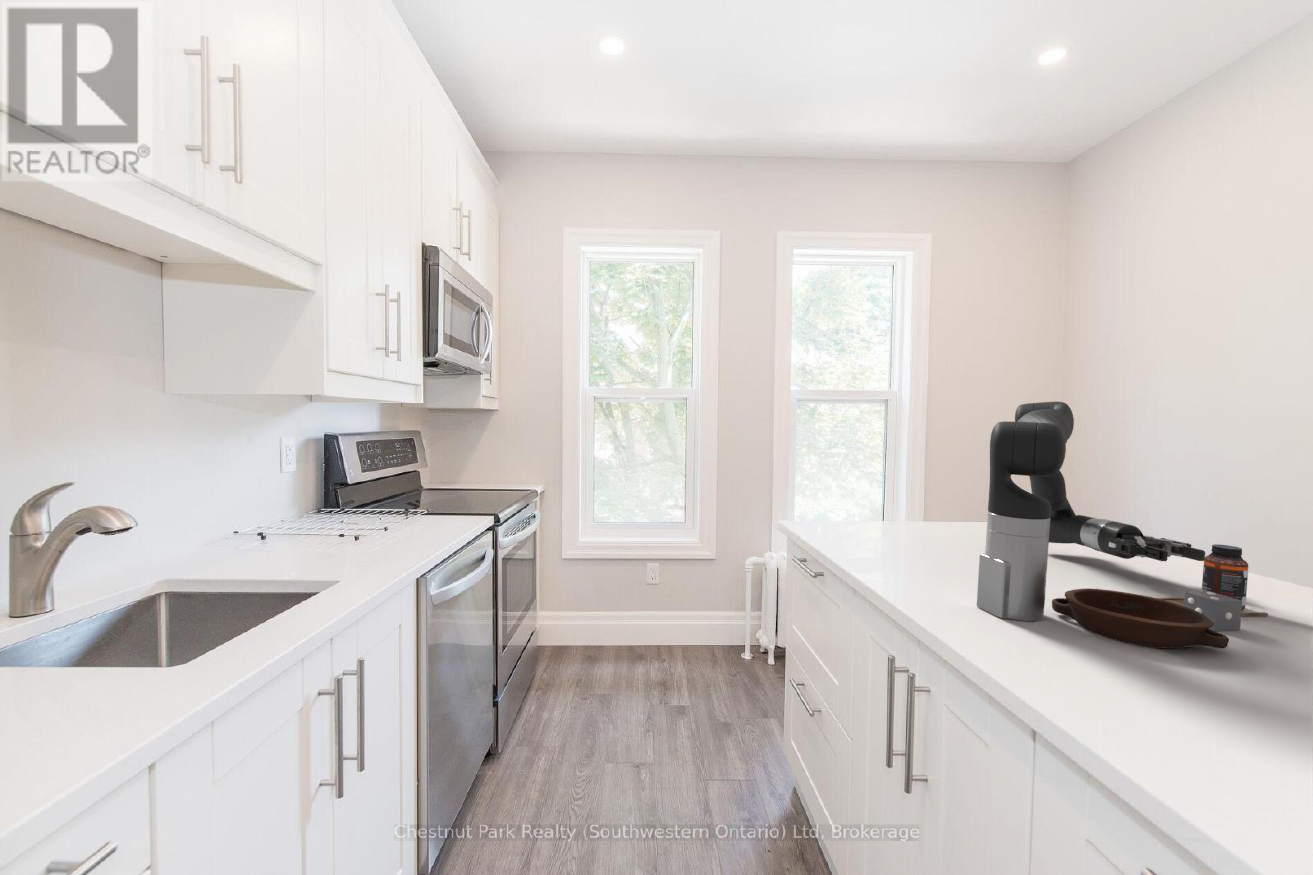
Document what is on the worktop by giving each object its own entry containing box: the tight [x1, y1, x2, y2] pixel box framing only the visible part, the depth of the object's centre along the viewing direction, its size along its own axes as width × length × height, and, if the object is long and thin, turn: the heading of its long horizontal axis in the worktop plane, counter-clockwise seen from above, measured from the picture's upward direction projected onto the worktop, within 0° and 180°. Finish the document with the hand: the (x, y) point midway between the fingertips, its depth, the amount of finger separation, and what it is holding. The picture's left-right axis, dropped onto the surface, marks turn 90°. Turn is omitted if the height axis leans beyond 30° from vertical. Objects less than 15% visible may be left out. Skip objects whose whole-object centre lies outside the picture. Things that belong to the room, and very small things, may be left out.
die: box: [1183, 590, 1242, 632], centre depth 98 cm, size 5×5×5 cm
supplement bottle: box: [1201, 543, 1249, 610], centre depth 107 cm, size 6×6×11 cm
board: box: [1157, 597, 1269, 618], centre depth 107 cm, size 21×9×1 cm, turn 98°
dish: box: [1051, 588, 1230, 649], centre depth 93 cm, size 18×22×5 cm
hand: (1185, 556), depth 115 cm, fingers open, 8 cm apart
